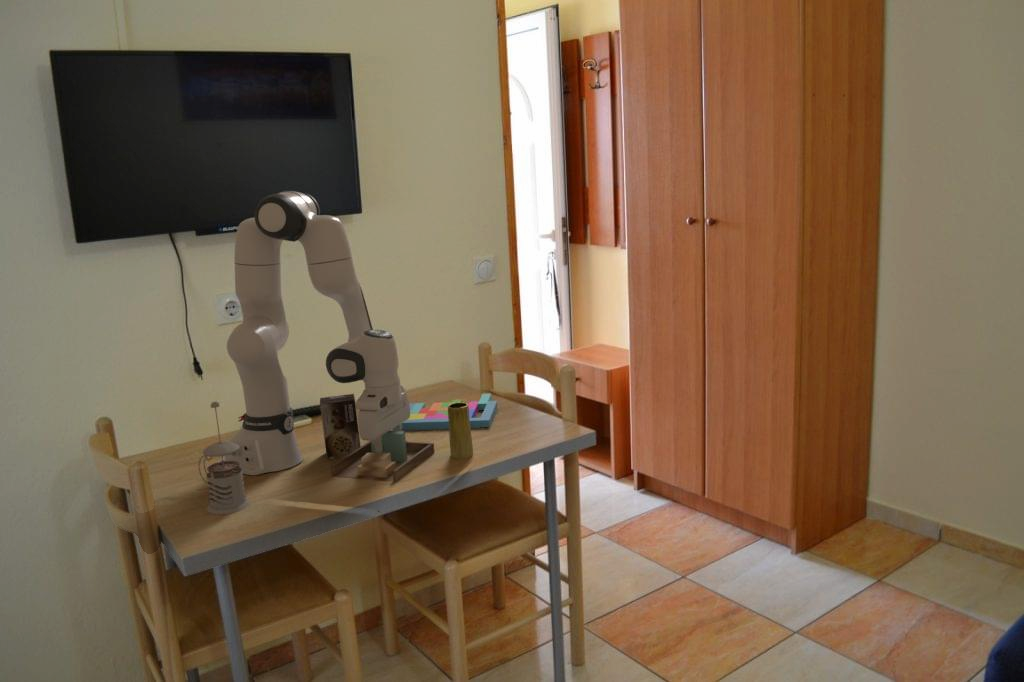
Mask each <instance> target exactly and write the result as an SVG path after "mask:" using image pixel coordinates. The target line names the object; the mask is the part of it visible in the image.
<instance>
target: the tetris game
mask: <svg viewBox="0 0 1024 682" xmlns="http://www.w3.org/2000/svg"><path fill="white" fill-rule="evenodd" d="M492 399H493V398H492V393H482V394H481V397H480V399H479V400H477V401H475V400H474V401H469V403H467V404H468V407H469V418H470V428H471V429H484V428H483V427H490V428H491V426H492V423H491V422H493V421H492V419H493V420H494V418H493V417H495V416H494V414H495V415H496V413H495V411H496V409H497V410H498V408H497V407H498V400H492ZM491 400H492V401H491ZM457 402H463V399H461V398H460V399H452V401H447V402H444V401H443V402H433V403H432V405H431V406H430V407H426V403H425V402H418V403H417V402H414V403H413V402H410V403H409V405H410V417H409V419H407V420H406V421H404V422H402V430H401V431H426V430H428V431H431V430H449V419H448V405H449V404H452V403H457ZM478 410H484V411H482V414H481V416H480V417H477V415H478V413H479V411H478ZM477 412H478V413H477ZM496 412H497V411H496ZM476 414H477V415H476ZM475 416H476V417H475ZM490 425H491V426H490ZM480 427H482V428H480ZM393 430H394V428H393V429H392V431H393Z"/></svg>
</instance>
